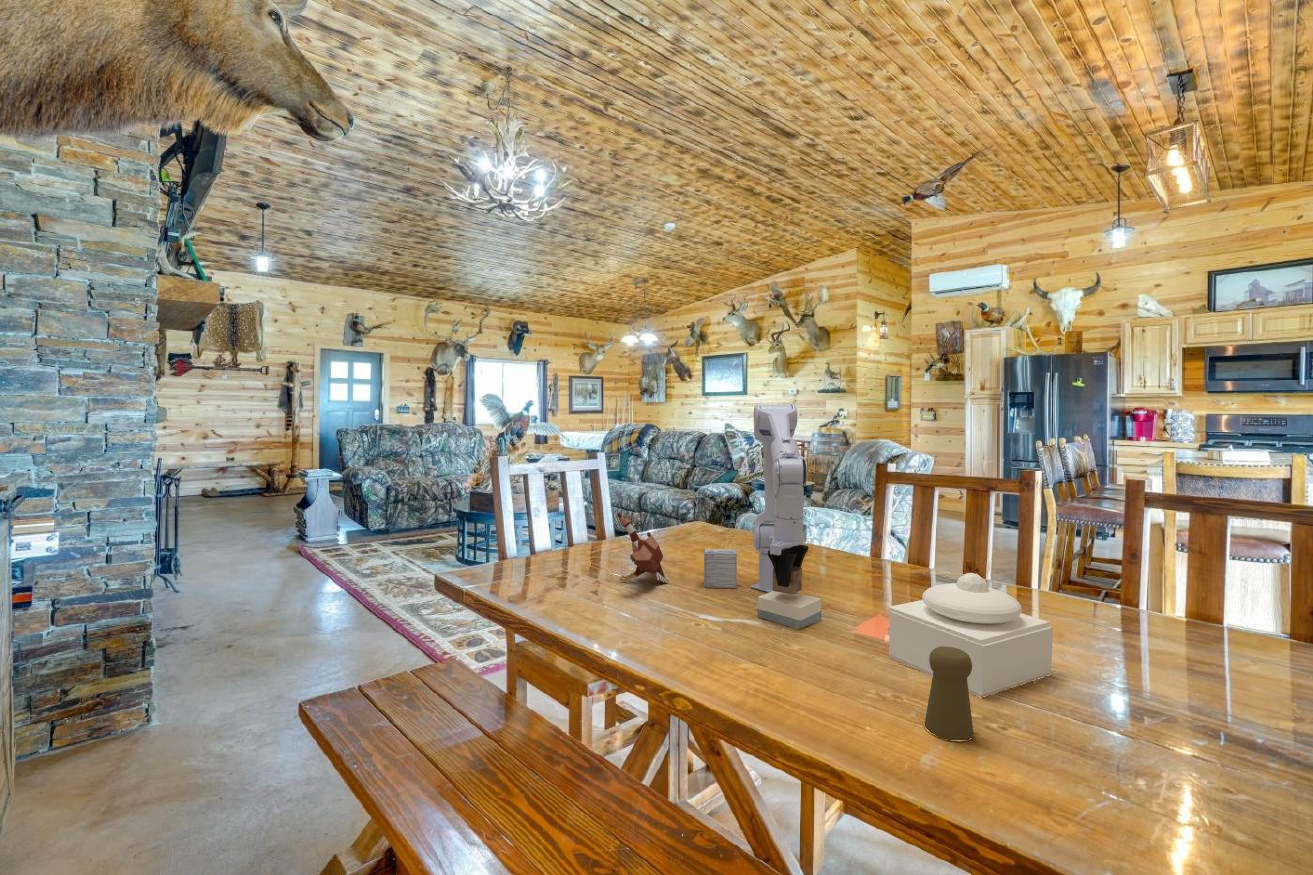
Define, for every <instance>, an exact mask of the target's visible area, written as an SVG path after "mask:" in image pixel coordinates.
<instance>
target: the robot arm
mask: <svg viewBox="0 0 1313 875" xmlns="http://www.w3.org/2000/svg"><path fill="white" fill-rule="evenodd" d="M797 425H798V408H797V406H796V405H795V404H794V403H792V404H791V403H790V404H760V403H757V404H755V405H754V408H753V436H754V439H755V440H757V441H758V442H760V443H761V446H762V448H763V450H762V451H763V459H764V460H763V466H764V468H763V471H764V474H763V476H764V481H763V482H764V510H762V511H761V512H759V514H757V515H755V517H754V519H753V528H752V543H753V544H752V545H753V548H754V549H755V550H756V551H758V583H755V584H751V585H750V588H752V589H756V590H759V591H761V592H762V591H763V592H766V593H769V592H772V591H773V569H774V571H775V575H776V579H777V584H778V586H783V587H788V586H789V583H790V578H791V570H792V566H795V567H801V568H802V565H803V562H804V559H805V556H806V555H807V553H808V551H809V546H808V545H806V544H804V543H806V532H804V496H805V495H804V492H805V491H804V490H805V489H804V487H806V485H807V480H808V464H807V461H806V458H805V457H804V456H802V455H800V454H801V453H800V450H799V446H798V443H797V441H796V440H795V438H793V436H794V435H795V431H796V428H797Z"/></svg>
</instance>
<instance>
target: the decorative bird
mask: <svg viewBox="0 0 1313 875" xmlns="http://www.w3.org/2000/svg"><path fill="white" fill-rule="evenodd" d="M616 516H617V517H618V519H619V523H620V524H621V526H623V528H625V530H626V531H627V533H628V535H629V538H630V541H631V548H632V553H630V555H629V556H630V557H629V558H630V560H631V561H632V563H634V565H635V566H636V568H635V571H633V572H632V573H630V574H628V575H626V576H625V575H621V577H619V578H618V580H619V581H621V582H623V583H627V584H628V582H627V581H629V580H632V579H635V578H639V577H640V576H641V575H643V574H645V573H649V574H651V575H653V576H655V577H656V579H657V582H660V583H662V584H665V585H668V584H669V580H668V579H667V578H666V577H665V573H664V570H663V566H662V564H661V562H662V561H663V559H664V553H663V552H662V549H661V547H660V545H659V543H658V541H657V540H656V539H655V537H654V536H653V535H652V534H651V532H649V531H648V532H647V533H646V535H647V538H646V539H645V540H644V539H641V538H640V537H639V535H638V533H637V531H636V530H635V528H634V526H633V525H632V524H631V522H630V521H629V519H628V517H626V516H624V515H623V514H621V513H620V512H618V513H617V514H616Z"/></svg>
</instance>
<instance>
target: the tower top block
mask: <svg viewBox="0 0 1313 875" xmlns="http://www.w3.org/2000/svg"><path fill="white" fill-rule="evenodd" d="M758 609H760V610H764V611H767V612H771V613H775V614H778V615H782V616H786V617H789V618H793V619H797V620H800V621H801V620H803V619H805V618H807V617H809V616H811V615H813V614H816V613H818V612H820V611H821V612H822V598H820V597H817V596H815V597H814V596H810V595H806V594H803V593H799V592H797V593H795V594H794V595H793V594H787V593H781V592H775V591H772V592H766V593H765V594H762V595H760V596H757V610H758Z"/></svg>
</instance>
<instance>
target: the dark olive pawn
mask: <svg viewBox="0 0 1313 875" xmlns="http://www.w3.org/2000/svg"><path fill="white" fill-rule="evenodd" d="M929 663H930V667H931V669H932V671H933V677H932V676H931V684H930V690H929V696H928V701H927V706H926V713H925V718H924V723H925V727H926V728H927V729H928V730H929V731H930V732H931V733H933V734H935V735H936V736H938V737H940V738H943V739H947V740H969V739H970V738H972V737H973V735H975V734H974V727H973V719H972V718H973V716H972V709H971V702H970V693H969V691H968V682H967V677H968V676H969V675H970V674H971V671H972V662H971V658H970V657H969V655H968V654H967V653H966V652H964V651H962V650H960V649H957V648H953V647H945V646H942V647H937V648H934V649H933V650H932V652H931V653H930V656H929ZM925 727H924V728H925ZM940 738H939V739H940ZM973 738H974V737H973ZM943 739H942V740H943Z"/></svg>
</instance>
